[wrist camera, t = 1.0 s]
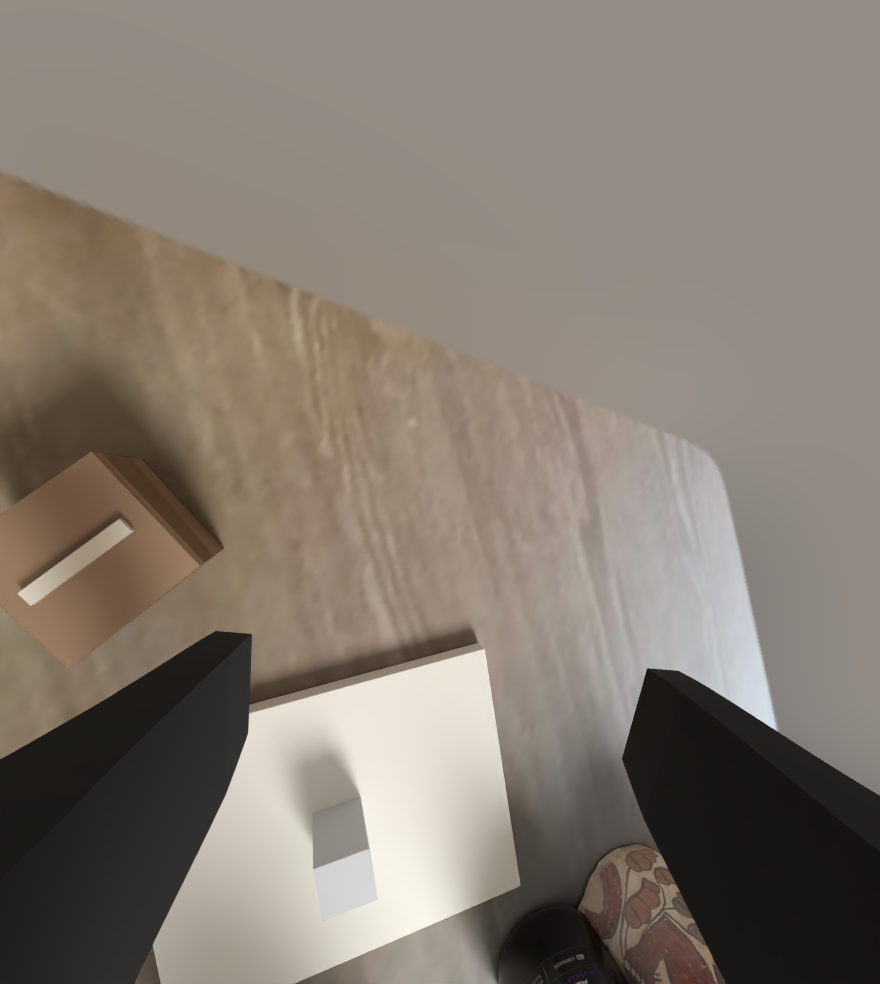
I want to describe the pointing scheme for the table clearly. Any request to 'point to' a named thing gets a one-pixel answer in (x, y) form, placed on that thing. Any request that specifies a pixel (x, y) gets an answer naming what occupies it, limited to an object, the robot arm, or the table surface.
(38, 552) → the walnut knob
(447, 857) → the board
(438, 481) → the table surface
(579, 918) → the supplement bottle
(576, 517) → the table surface
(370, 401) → the table surface
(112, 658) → the table surface
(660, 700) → the robot arm
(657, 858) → the figurine
